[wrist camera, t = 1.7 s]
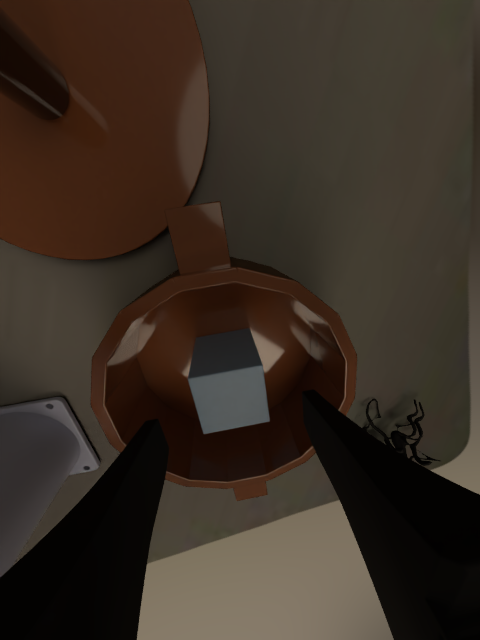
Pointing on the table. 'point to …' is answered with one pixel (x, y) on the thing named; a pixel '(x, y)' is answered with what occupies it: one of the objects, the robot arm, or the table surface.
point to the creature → (402, 435)
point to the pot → (208, 319)
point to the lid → (98, 122)
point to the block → (228, 381)
